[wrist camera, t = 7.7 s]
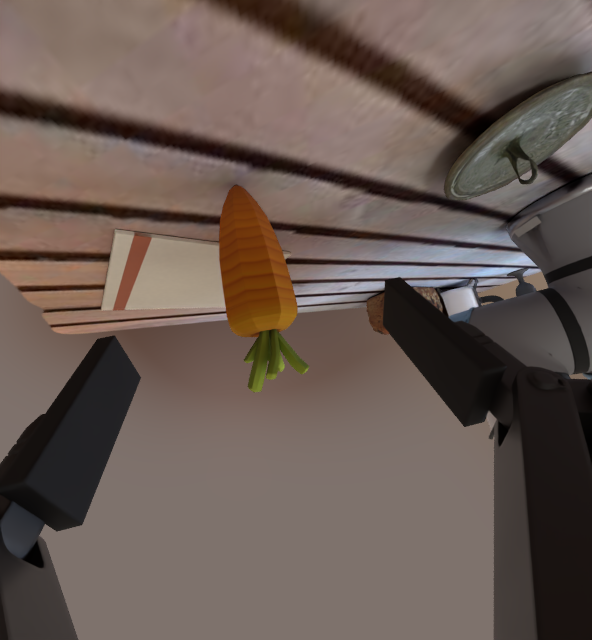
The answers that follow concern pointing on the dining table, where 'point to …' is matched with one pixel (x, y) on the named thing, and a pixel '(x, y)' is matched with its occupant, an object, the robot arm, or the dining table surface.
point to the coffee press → (462, 299)
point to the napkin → (162, 273)
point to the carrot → (256, 286)
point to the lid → (522, 139)
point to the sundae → (522, 283)
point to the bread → (377, 305)
